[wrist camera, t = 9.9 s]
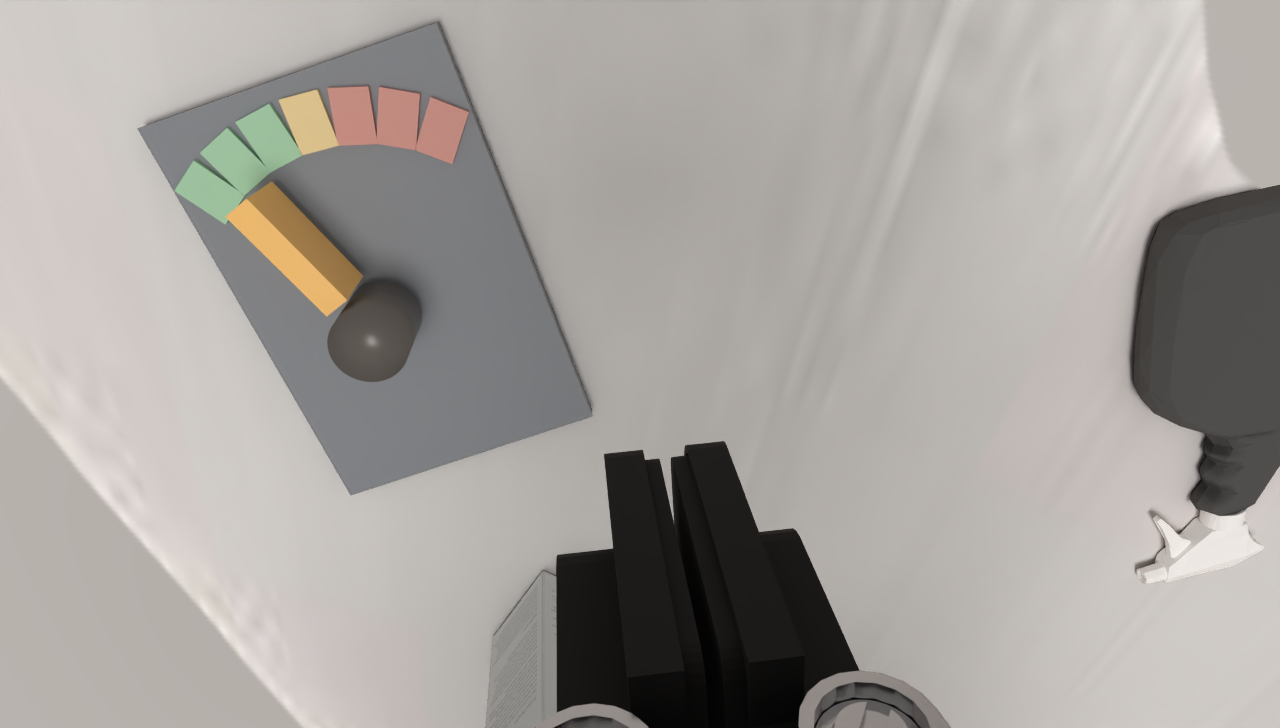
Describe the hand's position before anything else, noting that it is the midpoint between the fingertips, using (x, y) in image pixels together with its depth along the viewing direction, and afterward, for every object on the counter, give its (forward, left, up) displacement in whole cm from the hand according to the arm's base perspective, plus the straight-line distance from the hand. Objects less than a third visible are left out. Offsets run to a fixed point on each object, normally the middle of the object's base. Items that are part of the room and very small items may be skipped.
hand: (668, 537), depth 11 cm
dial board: (+7, +9, -29) cm, 31 cm away
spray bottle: (-38, +2, -30) cm, 49 cm away
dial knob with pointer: (+9, +8, -28) cm, 30 cm away
